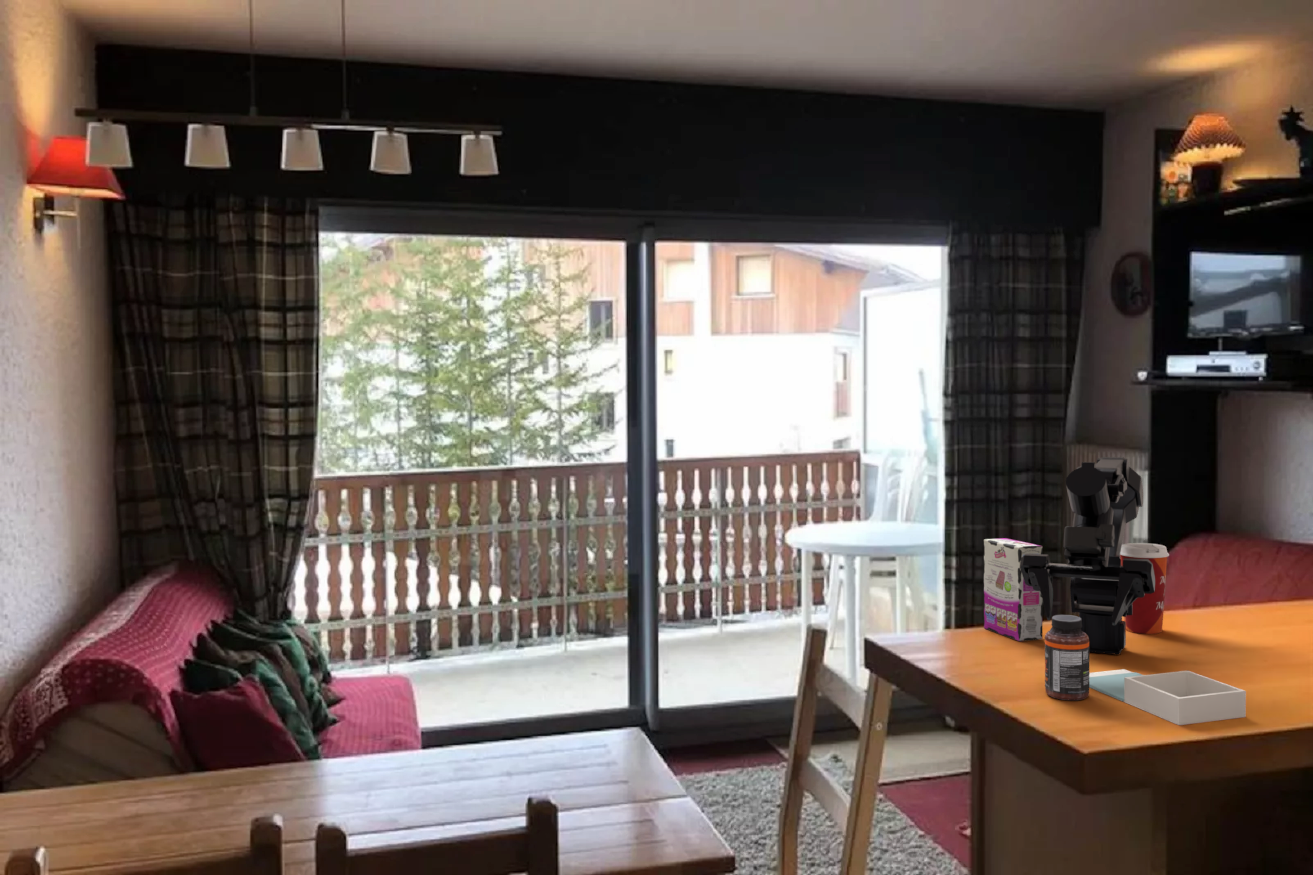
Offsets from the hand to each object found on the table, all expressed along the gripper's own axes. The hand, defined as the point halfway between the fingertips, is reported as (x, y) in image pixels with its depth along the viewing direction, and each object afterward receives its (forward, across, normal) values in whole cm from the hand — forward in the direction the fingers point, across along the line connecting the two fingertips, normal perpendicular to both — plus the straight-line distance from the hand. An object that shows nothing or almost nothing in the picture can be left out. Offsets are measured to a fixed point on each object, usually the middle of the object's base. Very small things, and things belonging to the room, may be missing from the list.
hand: (1080, 621), depth 161 cm
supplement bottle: (+12, -1, 0) cm, 12 cm away
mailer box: (+9, +10, +4) cm, 14 cm away
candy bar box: (-10, -16, +25) cm, 31 cm away
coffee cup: (-18, +4, +34) cm, 39 cm away
